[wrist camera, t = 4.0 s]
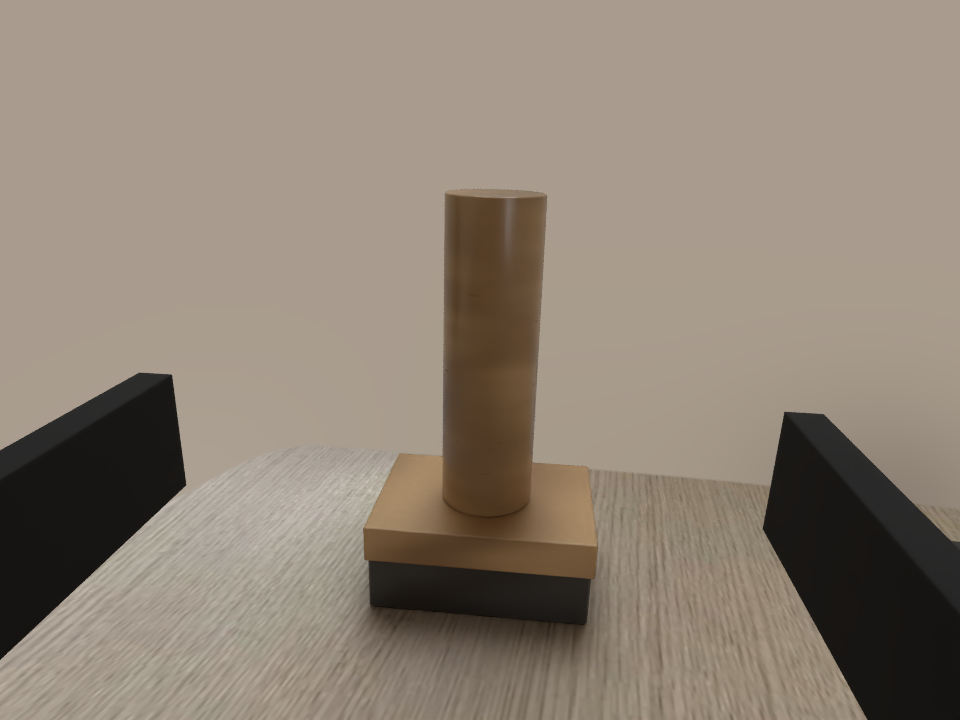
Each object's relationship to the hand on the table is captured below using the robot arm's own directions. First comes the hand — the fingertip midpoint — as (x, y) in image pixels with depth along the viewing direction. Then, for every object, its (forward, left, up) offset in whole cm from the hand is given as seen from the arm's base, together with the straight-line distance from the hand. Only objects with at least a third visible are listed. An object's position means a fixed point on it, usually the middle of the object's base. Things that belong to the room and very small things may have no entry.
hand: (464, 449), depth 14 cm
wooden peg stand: (-4, +6, -8) cm, 11 cm away
